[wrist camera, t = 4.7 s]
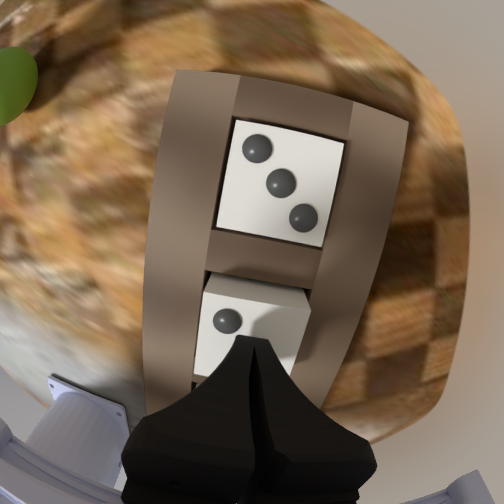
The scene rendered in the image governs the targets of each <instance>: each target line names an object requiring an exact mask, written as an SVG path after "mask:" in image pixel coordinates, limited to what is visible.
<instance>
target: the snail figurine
mask: <svg viewBox="0 0 504 504" xmlns="http://www.w3.org/2000/svg"><path fill="white" fill-rule="evenodd" d="M37 83H38V68H37V64H36V61H35V59H34V58H33V56H32V55H31V54H30V53H29V52H28V51H26V50H25V49H22V48H19V47H7V48H3V49H0V126H3V125H5V124H8V123H10V122H11V121H13V120H14V119H16V118H17V117H18V116H19V115H20V114H21V113H22V112H23V111H24V110H25V109H26V107H27V106H28V105H29V103H30V101H31V100H32V98H33V96H34V93H35V90H36V87H37Z"/></svg>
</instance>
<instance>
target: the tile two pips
mask: <svg viewBox="0 0 504 504" xmlns="http://www.w3.org/2000/svg"><path fill="white" fill-rule="evenodd" d="M310 313H311V309H310V306H309V304H308V301H307V298H306V296H305V293H304V290H303V288H301V287H296V286H290V285H284V284H278V283H273V282H267V281H262V280H256V279H251V278H245V277H240V276H235V275H229V274H224V273H219V272H214V271H212V274H211V276H210V278H209V280H208V283H207V285H206V287H205V290H204V292H203V299H202V307H201V315H200V323H199V331H198V339H197V348H196V357H195V367H194V374H197V375H202V376H207V377H208V376H209V375H210V374H211V373H212V372H213V371H214V370H215V369H216V368H217V366H218V365H219V364H220V363H221V362H222V360H223V359H224V358H225V356H226V355H227V353H228V352H229V350H230V348H231V347H232V345H233V343H234V340H235V336H237V335H238V334H240V335H245V336H251V337H257V338H263V339H268V340H269V341H270V343H271V345H272V347H273V349H274V351H275V353H276V355H277V357H278V359H279V360H280V362H281V364H282V365H283V367H284V369H285V370H286V372H287V373H288V375H289V376H290V373H291V370H292V367H293V364H294V362H295V359H296V356H297V353H298V350H299V347H300V344H301V341H302V338H303V335H304V332H305V329H306V326H307V322H308V319H309V316H310Z"/></svg>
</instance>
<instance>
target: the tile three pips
mask: <svg viewBox="0 0 504 504" xmlns="http://www.w3.org/2000/svg"><path fill="white" fill-rule="evenodd" d="M343 146H344V144H343V143H340V142H336V141H332V140H329V139H325V138H321V137H317V136H313V135H309V134H305V133H301V132H297V131H292V130H288V129H283V128H278V127H273V126H268V125H263V124H258V123H252V122H246V121H240V120H236V124H235V128H234V133H233V138H232V143H231V148H230V154H229V159H228V164H227V169H226V175H225V180H224V186H223V191H222V197H221V202H220V208H219V214H218V220H217V226H216V227H220V228H226V229H231V230H236V231H242V232H247V233H252V234H258V235H263V236H268V237H273V238H278V239H283V240H289V241H294V242H299V243H304V244H309V245H314V246H319V247H322V243H323V239H324V235H325V231H326V226H327V222H328V218H329V214H330V209H331V205H332V200H333V196H334V191H335V187H336V182H337V177H338V172H339V167H340V162H341V157H342V152H343Z"/></svg>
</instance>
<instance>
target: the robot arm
mask: <svg viewBox="0 0 504 504" xmlns="http://www.w3.org/2000/svg"><path fill="white" fill-rule="evenodd" d="M47 382H48V385H49V388H50V391H51V394H52V396H53V399H54V402H53V404H52V405H51V406H50V408H49V409H48V410H47V412H46V413H45V415H44V416H43V418H42V419H41V420H40V422H39V423H38V425H37V426H36V427H35V429H34V430H33V432H32V433H31V434H30V436H29V437H28V439H27V440H26V442H25V443H24V442H22V441H21V440H19V439H18V438H16V437H15V436H13V435H12V432H11V430H10V429H9V427H8V425H7V424H6V423H5V422H4V421H3V420H2V419H1V418H0V504H236V503H237V504H356V501H357V500H358V499H359V497H360V496H359V492H358V489H359V488H360V487H361V486H362V485H363V484H364V483H365V482H366V481H367V480H368V479H369V478H370V477H371V476H372V475H373V474H374V472H375V471H376V468H377V463H376V460H375V457H374V453H373V450H372V449H371V446H370V444H369V442H368V441H367V440H366V439H364V438H362V437H360V436H358V435H356V434H354V433H352V432H351V431H349V430H347V429H345V428H344V427H342V426H341V425H339V424H338V423H336V422H335V421H333V420H332V419H331V418H329V417H328V416H327V415H326V414H324V413H323V412H322V411H321V410H320V409H319V408H317V407H316V406H315V405H314V404H313V403H312V402H311V401H310V400H309V399H308V398H307V397H306V396H305V395H304V394H303V393H302V392H301V391H300V389H299V388H298V387H297V386H296V384H295V383H294V382H293V380H292V379H291V378H290V376H289V375H288V373H287V372H286V370H285V369H284V367H283V365H282V364H281V362H280V360H279V359H278V357H277V355H276V353H275V351H274V349H273V347H272V345H271V343H270V341H269V340H268V339H263V338H257V337H251V336H245V335H240V334H238V335H237V336H235V340H234V343H233V345H232V347H231V348H230V350H229V352H228V353H227V355H226V356H225V358H224V359H223V360H222V362H221V363H220V364H219V365H218V366H217V368H216V369H215V370H214V371H213V372H212V373H211V374H210V375H209V376H208V377H207V378H206V379H205V380H204V381H203V382H202V383H201V384H200V385H199V386H197V387H196V388H195V389H194V390H192V391H191V392H190V393H188V394H187V395H186V396H184V397H183V398H181V399H179V400H178V401H176V402H174V403H173V404H171V405H169V406H168V407H166V408H164V409H162V410H159V411H157V412H155V413H153V414H150V415H148V416H145V417H143V418H142V420H141V421H140V422H139V423H138V424H137V426H136V427H135V428H134V430H133V431H132V433H131V434H130V433H129V428H128V423H127V417H126V411H125V408H124V407H123V406H122V405H120V404H117V403H114V402H112V401H109V400H106V399H104V398H101V397H98V396H96V395H93V394H91V393H88V392H86V391H83V390H81V389H79V388H76V387H74V386H72V385H70V384H67V383H65V382H63V381H61V380H59V379H57V378H55V377H53V376H48V377H47ZM122 465H123V467H124V470H125V473H126V476H127V481H126V483H125V486H124V489H123V492H121V491H119V490H116V489H113V488H114V485H115V483H116V480H117V478H118V475H119V473H120V470H121V467H122ZM401 504H495V503H494V501H493V499H492V497H491V495H490V493H489V491H488V489H487V487H486V485H485V483H484V481H483V479H482V477H481V475H480V473H479V471H478V470H475V471H472V472H470V473H468V474H466V475H463V476H461V477H460V478H458V479H457V480H455V481H454V482H453V483H451V484H450V485H449V486H448V487H447V488H446V489H444V490H441V491H439V492H436V493H433V494H430V495H427V496H424V497H421V498H418V499H415V500H412V501H408V502H405V503H401Z"/></svg>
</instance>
